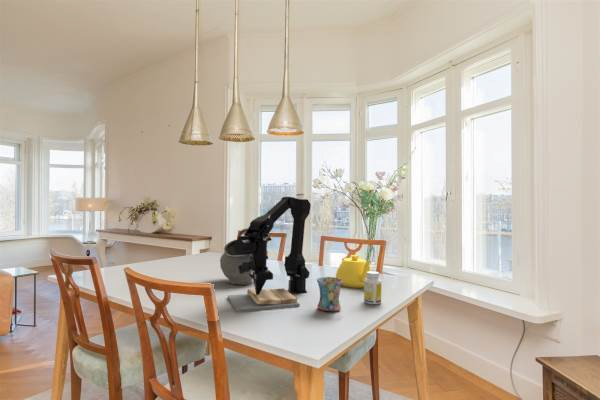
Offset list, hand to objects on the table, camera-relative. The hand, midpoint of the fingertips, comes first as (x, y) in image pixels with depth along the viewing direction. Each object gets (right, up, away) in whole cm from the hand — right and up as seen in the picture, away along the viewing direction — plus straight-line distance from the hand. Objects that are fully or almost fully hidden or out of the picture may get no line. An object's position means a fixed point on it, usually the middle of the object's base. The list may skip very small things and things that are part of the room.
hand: (257, 294), depth 131 cm
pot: (-12, -3, +33) cm, 35 cm away
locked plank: (+9, -3, +4) cm, 11 cm away
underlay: (+2, -3, +1) cm, 4 cm away
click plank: (+2, -2, +1) cm, 3 cm away
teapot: (+42, -5, +33) cm, 54 cm away
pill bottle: (+44, -4, +3) cm, 44 cm away
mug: (+27, -4, -8) cm, 28 cm away
